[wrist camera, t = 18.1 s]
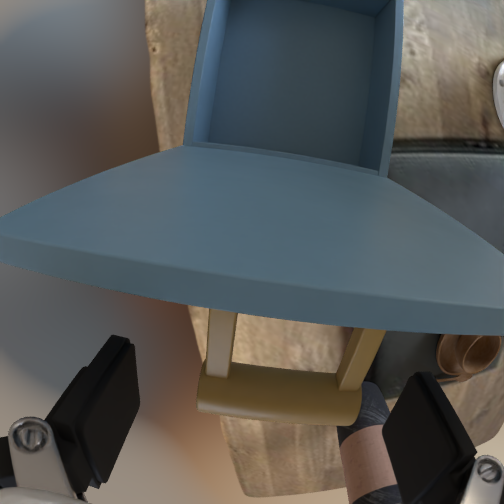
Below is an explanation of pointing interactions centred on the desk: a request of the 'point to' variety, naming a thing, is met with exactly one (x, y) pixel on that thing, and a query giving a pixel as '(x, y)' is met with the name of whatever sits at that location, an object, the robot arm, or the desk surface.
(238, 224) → the lid
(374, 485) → the travel mug
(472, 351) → the place setting
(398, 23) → the chest
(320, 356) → the desk surface
